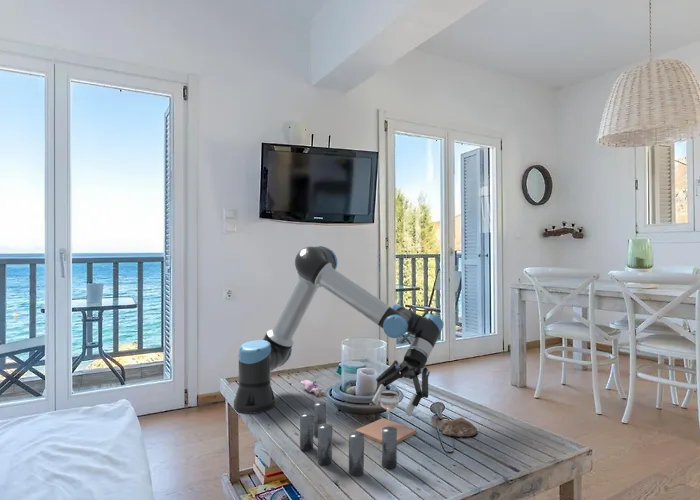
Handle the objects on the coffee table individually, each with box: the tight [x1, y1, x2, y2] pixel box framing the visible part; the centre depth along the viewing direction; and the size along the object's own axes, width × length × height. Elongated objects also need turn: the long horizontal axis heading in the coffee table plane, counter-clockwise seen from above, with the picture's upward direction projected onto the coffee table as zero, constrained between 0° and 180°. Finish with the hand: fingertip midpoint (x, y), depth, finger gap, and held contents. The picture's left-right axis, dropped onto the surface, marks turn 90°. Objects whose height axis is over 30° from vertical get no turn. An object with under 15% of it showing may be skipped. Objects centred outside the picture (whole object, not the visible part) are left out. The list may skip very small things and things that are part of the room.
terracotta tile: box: [354, 417, 417, 445], centre depth 142 cm, size 14×14×1 cm
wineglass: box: [378, 389, 400, 432], centre depth 141 cm, size 7×7×12 cm
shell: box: [440, 417, 479, 439], centre depth 145 cm, size 12×13×4 cm
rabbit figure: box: [300, 379, 326, 398], centre depth 181 cm, size 6×6×15 cm
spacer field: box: [299, 400, 398, 478], centre depth 126 cm, size 32×15×10 cm, turn 47°
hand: (390, 408), depth 143 cm, fingers open, 13 cm apart
